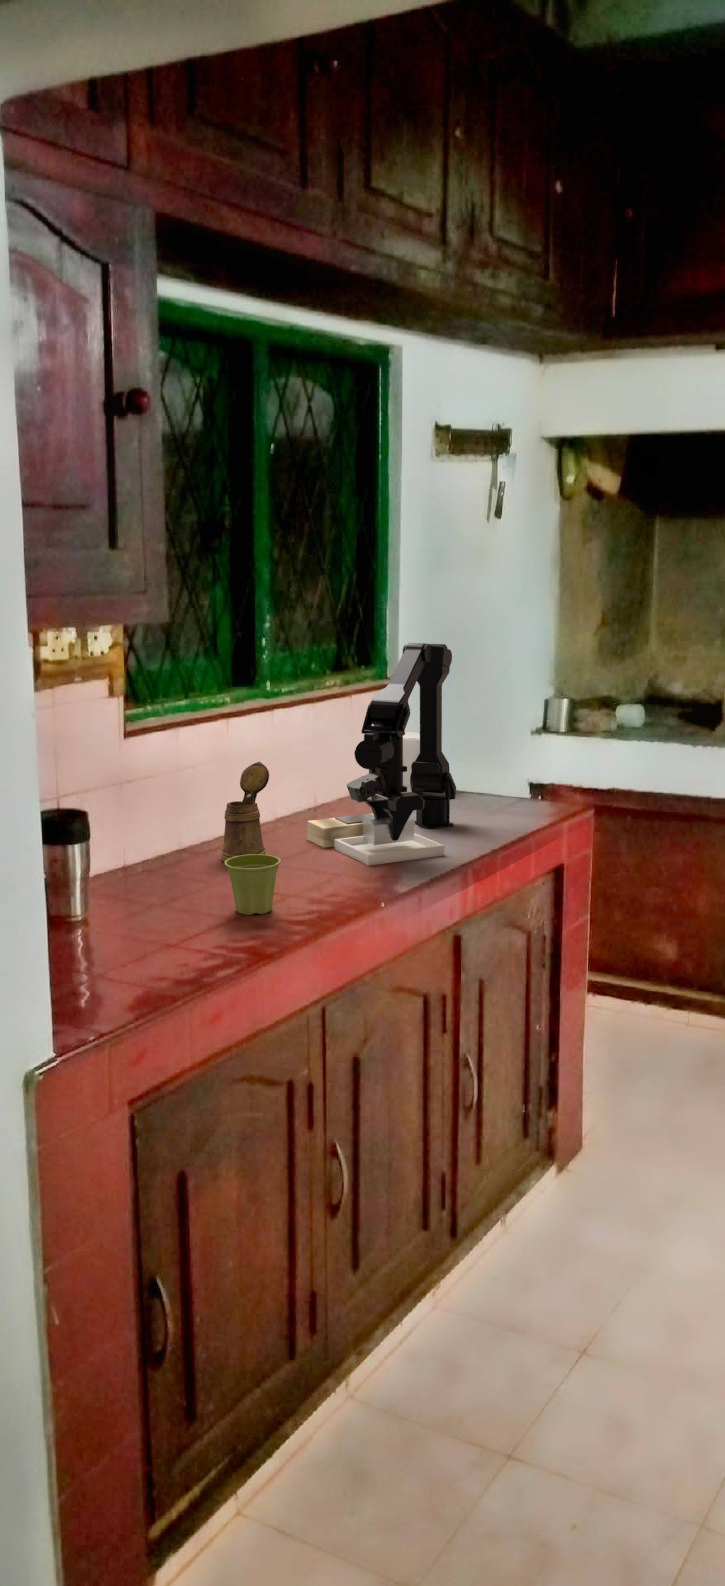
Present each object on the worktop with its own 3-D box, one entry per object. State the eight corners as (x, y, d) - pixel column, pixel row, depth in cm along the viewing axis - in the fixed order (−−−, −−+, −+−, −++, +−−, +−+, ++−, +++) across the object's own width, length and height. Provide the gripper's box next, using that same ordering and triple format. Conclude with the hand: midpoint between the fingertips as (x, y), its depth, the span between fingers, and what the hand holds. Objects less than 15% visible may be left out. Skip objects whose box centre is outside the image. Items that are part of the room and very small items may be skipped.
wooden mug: (282, 849, 252) (280, 762, 249) (255, 866, 240) (253, 774, 236) (241, 846, 255) (239, 760, 252) (213, 862, 243) (210, 771, 239)
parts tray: (407, 839, 260) (407, 830, 260) (444, 855, 247) (444, 845, 247) (334, 848, 253) (334, 839, 252) (368, 865, 239) (368, 855, 239)
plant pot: (259, 921, 205) (258, 870, 203) (214, 913, 210) (213, 863, 208) (292, 907, 213) (291, 858, 211) (248, 899, 217) (247, 851, 216)
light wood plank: (391, 829, 270) (391, 809, 269) (409, 836, 263) (409, 816, 262) (307, 839, 261) (306, 819, 260) (323, 847, 254) (323, 827, 253)
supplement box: (420, 800, 299) (420, 738, 296) (387, 796, 304) (387, 735, 301) (437, 793, 307) (437, 733, 304) (405, 790, 312) (405, 730, 309)
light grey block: (402, 834, 254) (402, 815, 253) (414, 840, 249) (414, 820, 248) (362, 840, 250) (362, 820, 249) (374, 845, 245) (374, 825, 244)
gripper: (331, 757, 251) (332, 832, 254) (374, 772, 234) (374, 852, 238) (380, 752, 256) (380, 826, 259) (425, 766, 239) (425, 845, 242)
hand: (388, 837), depth 249 cm, fingers closed on light grey block, 5 cm apart
